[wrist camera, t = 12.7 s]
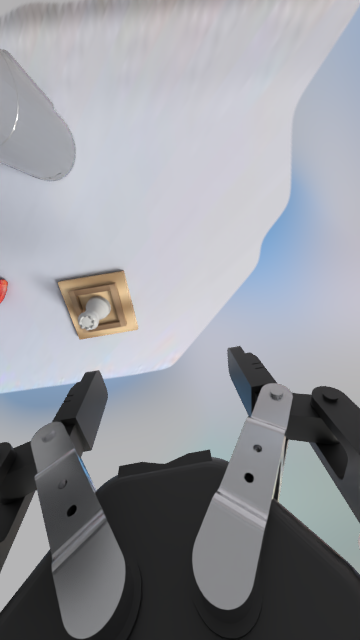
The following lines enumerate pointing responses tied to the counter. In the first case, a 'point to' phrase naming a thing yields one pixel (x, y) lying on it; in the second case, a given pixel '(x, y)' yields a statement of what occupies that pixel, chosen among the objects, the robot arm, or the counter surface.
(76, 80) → the counter surface
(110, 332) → the display stand
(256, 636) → the robot arm
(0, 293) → the fruit
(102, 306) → the rook chess piece
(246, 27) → the counter surface
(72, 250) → the counter surface
